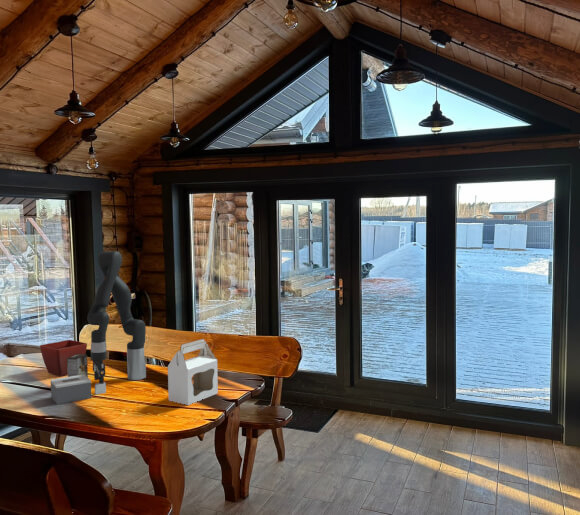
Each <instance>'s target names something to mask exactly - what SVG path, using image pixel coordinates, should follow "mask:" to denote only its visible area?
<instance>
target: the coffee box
mask: <svg viewBox="0 0 580 515" xmlns="http://www.w3.org/2000/svg"><path fill="white" fill-rule="evenodd" d="M67 369H68V375H67V377H71V376H77V375H83V374H84V375H85V376H86V377H88V378H89V374H88V372H89V371H88V354H85V355H84V354H76V355H74V356H71V357H69V358H67Z"/></svg>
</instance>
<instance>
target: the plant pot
mask: <svg viewBox="0 0 580 515" xmlns="http://www.w3.org/2000/svg"><path fill="white" fill-rule="evenodd" d="M87 346H88V343H87V342H83V341H77V340H73V339H67V340H66V339H65V340H62V341H61V340H60V341H55V342H51V343H50V342H49V343H44V344H40V345H39V347H40V349H39V350H40V353H41V356H42V360H43V362H44V366H45V368H46V370H47V373H48V374H50V375H54V376H58V377H63V376H68V369H67V358H69V357H71V356H74V355H76V354H84V355H87V354H86V352H87Z"/></svg>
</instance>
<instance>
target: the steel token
mask: <svg viewBox="0 0 580 515" xmlns="http://www.w3.org/2000/svg"><path fill="white" fill-rule="evenodd" d="M106 393H107V383H106V382H105V381H104V383H103V384H99V382H98V383H97V382H96V383H95V384H94V394H95V395H102V394H106Z"/></svg>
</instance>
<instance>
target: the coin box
mask: <svg viewBox="0 0 580 515" xmlns="http://www.w3.org/2000/svg"><path fill="white" fill-rule="evenodd" d="M50 397H51V399H52V400H53V401H54V403H55V404H56V405H62V404H67V403H72V402H78V401H82V400H84V401H85V400H88V399H89V400H90V399H92V381H91V379H90V378H89V376H88V377H86V376H85V375H84V374H83V375H77V376H71V377H68V376H65V377H61V378H60V377H59V378H52V379H50Z"/></svg>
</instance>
